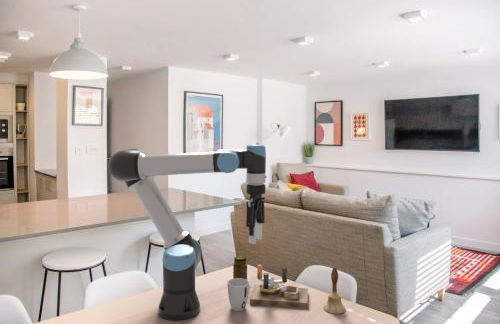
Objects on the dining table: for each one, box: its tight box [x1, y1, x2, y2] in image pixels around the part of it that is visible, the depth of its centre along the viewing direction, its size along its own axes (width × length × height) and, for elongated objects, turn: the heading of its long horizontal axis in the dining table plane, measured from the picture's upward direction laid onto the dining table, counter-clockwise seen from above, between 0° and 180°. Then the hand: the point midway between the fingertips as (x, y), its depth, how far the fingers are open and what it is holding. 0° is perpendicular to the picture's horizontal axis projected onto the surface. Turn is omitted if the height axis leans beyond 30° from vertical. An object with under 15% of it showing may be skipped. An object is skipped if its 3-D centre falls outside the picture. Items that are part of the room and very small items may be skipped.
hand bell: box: [322, 266, 346, 315], centre depth 147 cm, size 8×8×16 cm
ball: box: [279, 285, 287, 294], centre depth 156 cm, size 3×3×3 cm
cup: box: [227, 278, 250, 312], centre depth 147 cm, size 8×8×10 cm
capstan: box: [256, 263, 288, 294], centre depth 156 cm, size 13×12×10 cm
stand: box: [249, 284, 309, 309], centre depth 156 cm, size 22×14×4 cm, turn 82°
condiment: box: [232, 255, 251, 289], centre depth 169 cm, size 7×8×12 cm
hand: (255, 241), depth 156 cm, fingers open, 6 cm apart
